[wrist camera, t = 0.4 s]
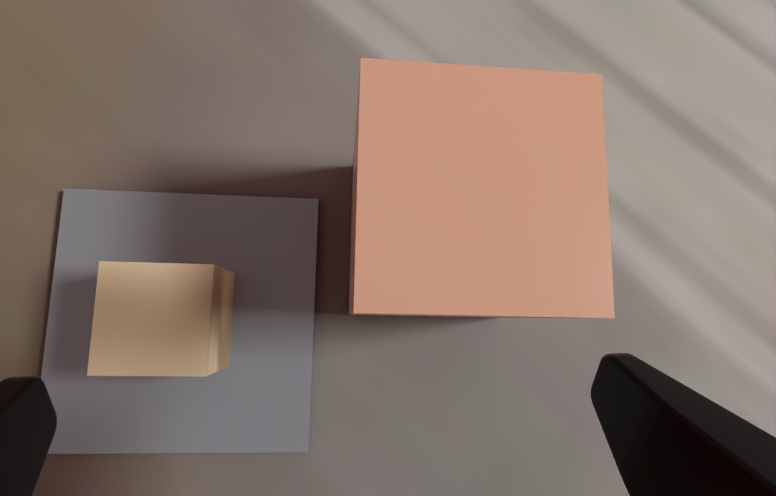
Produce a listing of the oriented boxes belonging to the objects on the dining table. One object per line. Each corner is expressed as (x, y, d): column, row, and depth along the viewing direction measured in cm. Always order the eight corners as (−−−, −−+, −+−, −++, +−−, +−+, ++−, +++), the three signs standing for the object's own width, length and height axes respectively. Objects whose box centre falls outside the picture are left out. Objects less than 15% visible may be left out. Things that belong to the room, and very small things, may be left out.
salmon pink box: (499, 317, 22) (614, 318, 13) (348, 315, 21) (353, 313, 12) (496, 172, 23) (601, 74, 14) (352, 165, 22) (360, 57, 13)
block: (228, 366, 20) (205, 376, 17) (131, 365, 20) (86, 375, 16) (235, 273, 21) (213, 264, 17) (140, 270, 21) (99, 261, 17)
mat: (308, 449, 20) (308, 452, 20) (37, 451, 19) (31, 454, 19) (318, 200, 22) (318, 198, 22) (69, 190, 21) (63, 188, 21)
